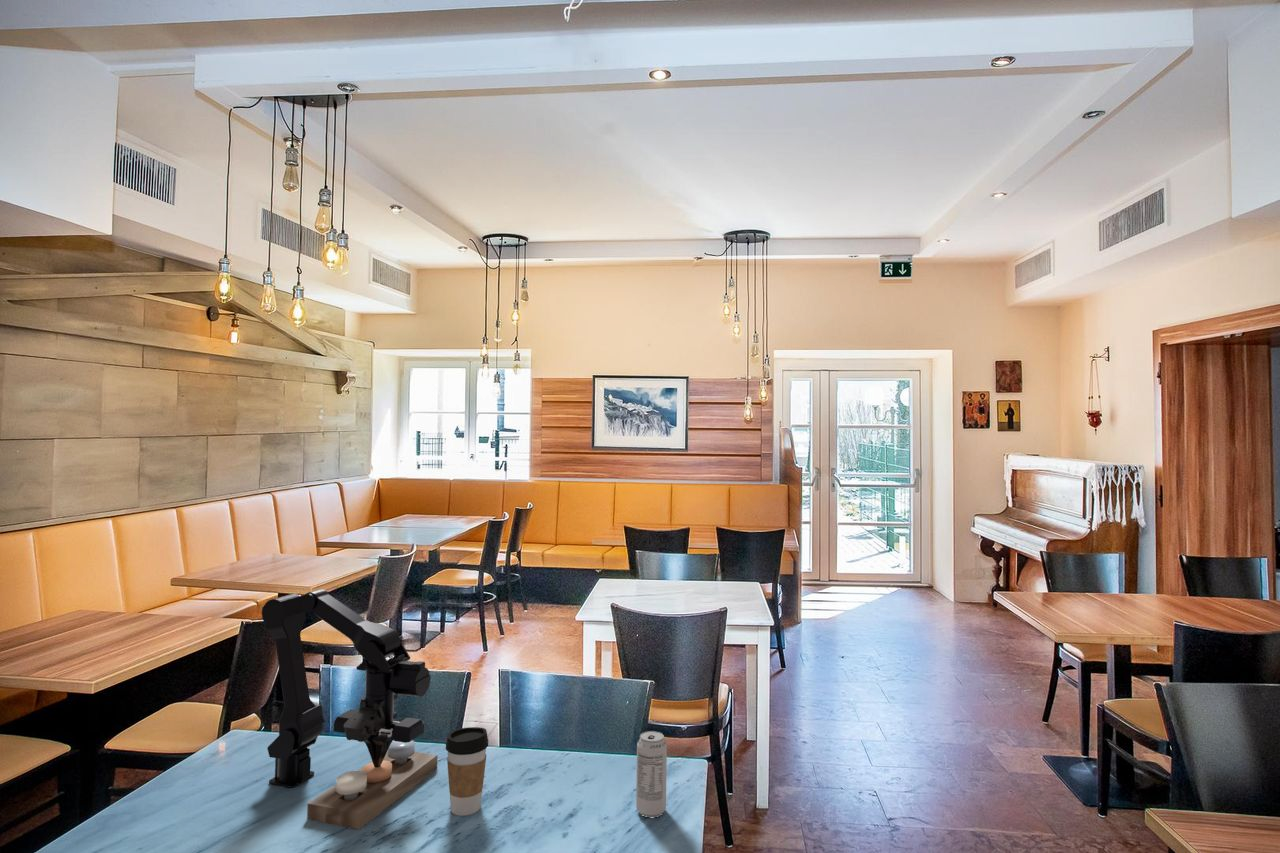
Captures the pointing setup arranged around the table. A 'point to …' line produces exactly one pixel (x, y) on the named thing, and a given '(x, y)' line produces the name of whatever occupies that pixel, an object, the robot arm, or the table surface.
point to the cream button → (351, 784)
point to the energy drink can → (651, 774)
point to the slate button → (401, 751)
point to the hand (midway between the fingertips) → (377, 766)
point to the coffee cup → (466, 768)
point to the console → (372, 794)
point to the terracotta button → (378, 772)
